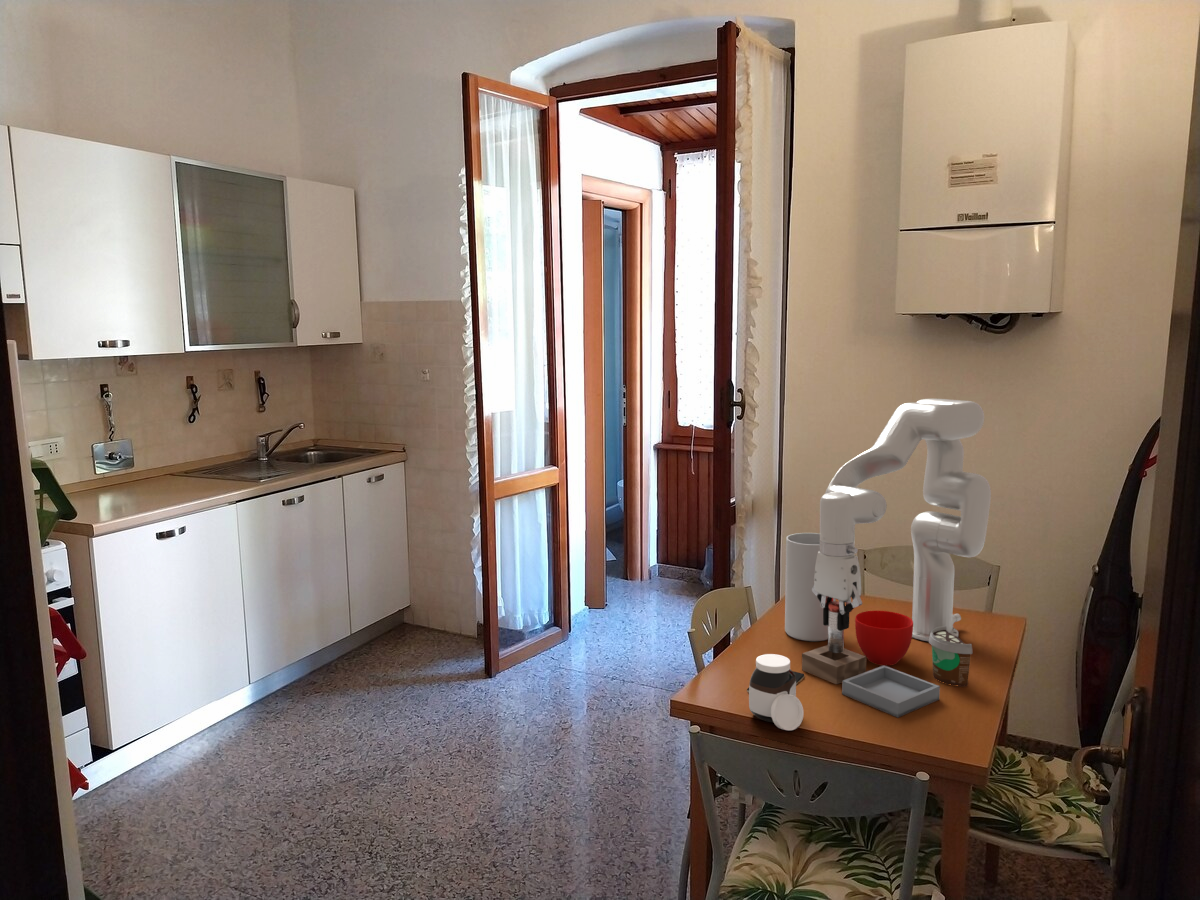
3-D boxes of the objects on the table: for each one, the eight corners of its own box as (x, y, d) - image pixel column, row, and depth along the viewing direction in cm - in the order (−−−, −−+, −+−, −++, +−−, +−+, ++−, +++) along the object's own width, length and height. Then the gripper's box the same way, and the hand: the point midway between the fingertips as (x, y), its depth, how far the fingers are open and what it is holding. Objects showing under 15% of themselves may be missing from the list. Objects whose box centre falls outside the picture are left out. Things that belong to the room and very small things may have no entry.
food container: (917, 668, 197) (919, 626, 195) (943, 666, 197) (945, 625, 196) (943, 690, 184) (945, 646, 183) (970, 689, 185) (972, 644, 183)
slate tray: (883, 678, 191) (883, 665, 191) (939, 699, 180) (939, 686, 180) (842, 694, 183) (842, 680, 183) (897, 717, 172) (898, 703, 172)
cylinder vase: (784, 640, 215) (785, 543, 212) (785, 623, 227) (786, 531, 224) (835, 644, 212) (837, 546, 209) (834, 626, 224) (836, 533, 221)
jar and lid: (767, 701, 181) (768, 648, 179) (817, 716, 173) (818, 661, 172) (738, 721, 172) (738, 666, 170) (789, 738, 164) (790, 680, 163)
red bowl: (929, 655, 204) (930, 614, 203) (895, 675, 193) (897, 633, 191) (878, 641, 213) (879, 603, 212) (843, 660, 202) (844, 619, 200)
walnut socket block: (831, 659, 202) (831, 643, 202) (865, 673, 194) (866, 656, 193) (801, 670, 197) (802, 653, 196) (836, 684, 188) (836, 667, 188)
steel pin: (834, 646, 197) (835, 600, 196) (846, 650, 194) (847, 604, 193) (824, 649, 195) (825, 603, 194) (836, 654, 193) (837, 607, 191)
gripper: (878, 552, 187) (876, 633, 189) (819, 538, 200) (818, 613, 203) (855, 559, 182) (854, 641, 185) (797, 543, 196) (797, 620, 199)
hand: (836, 625), depth 194 cm, fingers closed on steel pin, 3 cm apart
